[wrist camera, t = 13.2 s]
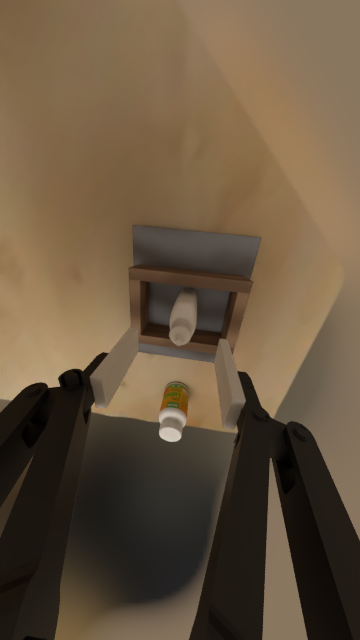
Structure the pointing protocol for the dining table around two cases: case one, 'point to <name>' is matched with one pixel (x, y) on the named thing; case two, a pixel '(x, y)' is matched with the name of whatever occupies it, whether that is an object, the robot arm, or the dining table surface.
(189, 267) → the bottle holder
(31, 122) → the dining table surface
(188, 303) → the eye dropper bottle
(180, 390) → the supplement bottle
